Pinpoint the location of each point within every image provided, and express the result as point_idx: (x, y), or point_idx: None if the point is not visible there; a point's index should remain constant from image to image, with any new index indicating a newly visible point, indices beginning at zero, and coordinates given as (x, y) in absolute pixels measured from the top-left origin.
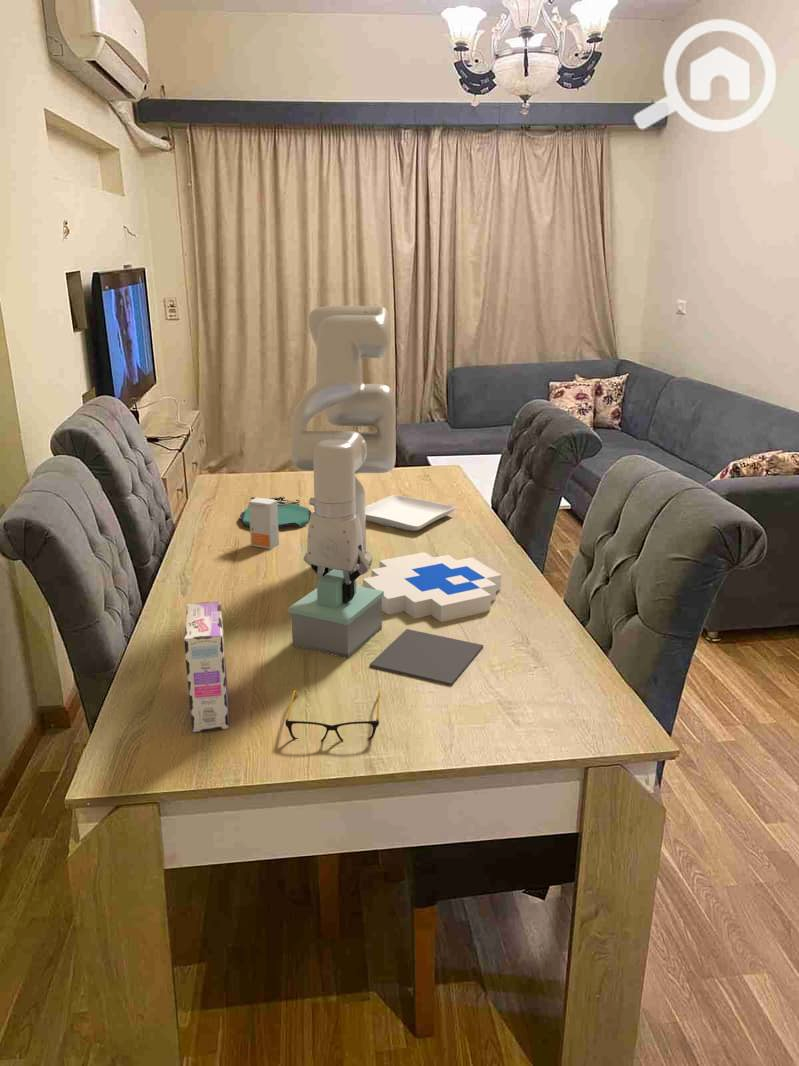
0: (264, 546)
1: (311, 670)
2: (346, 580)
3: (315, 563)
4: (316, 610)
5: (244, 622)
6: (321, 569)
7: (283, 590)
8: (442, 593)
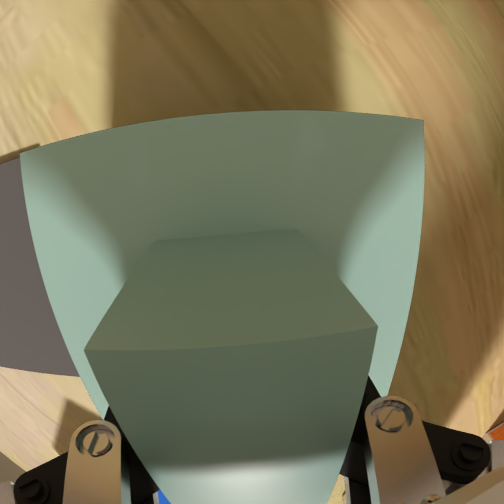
0: (494, 429)
1: (174, 28)
2: (102, 448)
3: (496, 501)
4: (255, 152)
5: (493, 208)
6: (396, 477)
7: (461, 374)
8: None
